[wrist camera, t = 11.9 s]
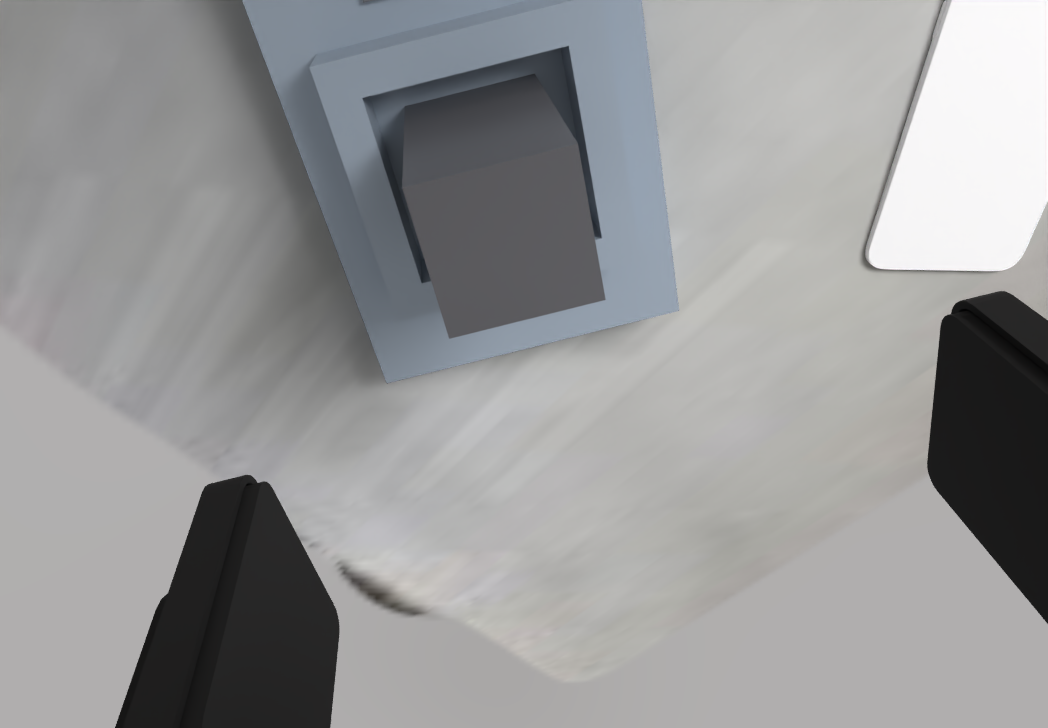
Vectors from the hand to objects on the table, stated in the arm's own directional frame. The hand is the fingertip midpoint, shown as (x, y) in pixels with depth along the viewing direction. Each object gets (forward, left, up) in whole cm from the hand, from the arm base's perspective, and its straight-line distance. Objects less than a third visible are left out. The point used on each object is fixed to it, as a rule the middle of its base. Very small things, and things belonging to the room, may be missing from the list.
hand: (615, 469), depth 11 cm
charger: (+1, -1, -18) cm, 18 cm away
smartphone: (+4, +19, -21) cm, 29 cm away
